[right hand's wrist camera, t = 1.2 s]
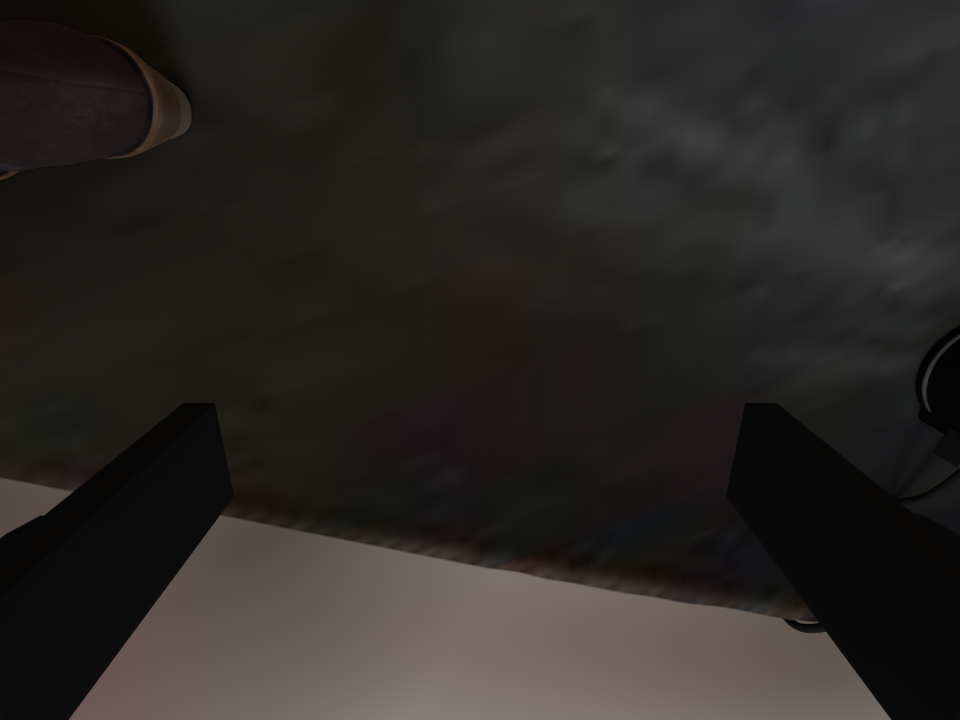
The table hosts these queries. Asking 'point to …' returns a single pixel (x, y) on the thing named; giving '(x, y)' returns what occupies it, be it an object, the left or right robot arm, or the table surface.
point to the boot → (78, 99)
